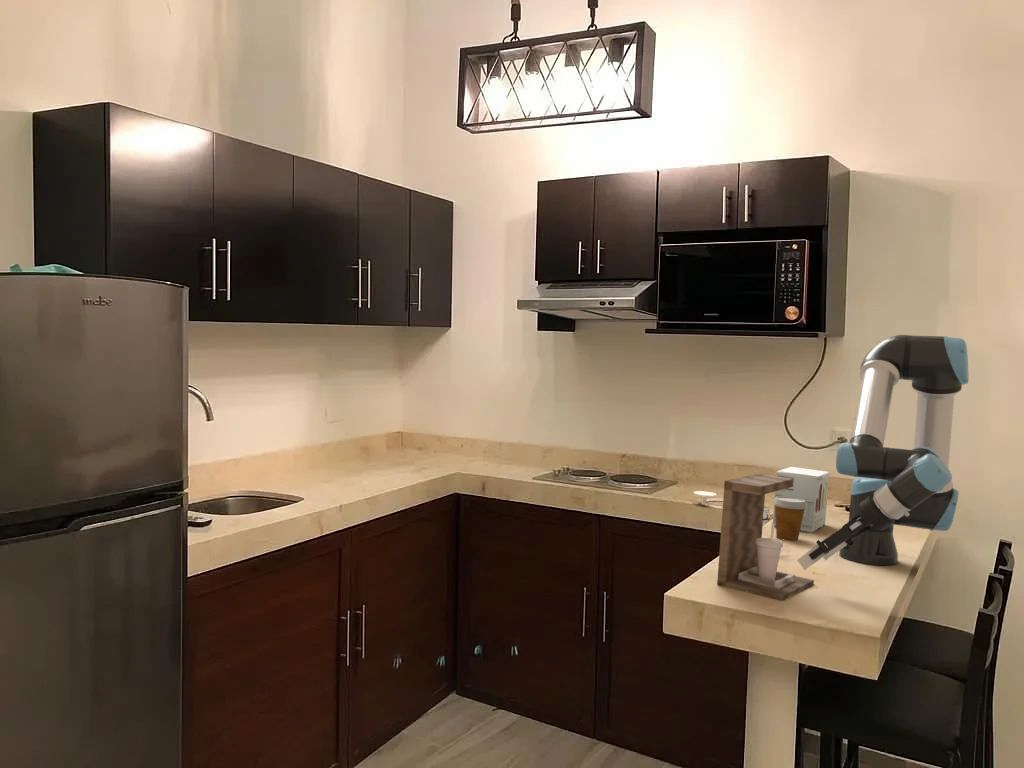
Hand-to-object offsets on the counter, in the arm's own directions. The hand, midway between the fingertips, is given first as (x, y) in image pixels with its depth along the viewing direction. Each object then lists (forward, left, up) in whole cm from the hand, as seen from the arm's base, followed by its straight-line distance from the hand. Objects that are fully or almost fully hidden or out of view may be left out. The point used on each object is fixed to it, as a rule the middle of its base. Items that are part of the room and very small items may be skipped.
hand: (811, 560), depth 203 cm
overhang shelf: (0, -11, -8) cm, 13 cm away
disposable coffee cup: (-55, -27, -8) cm, 62 cm away
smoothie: (0, -10, -7) cm, 13 cm away
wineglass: (-33, -27, -8) cm, 44 cm away
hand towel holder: (-88, -64, -9) cm, 110 cm away
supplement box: (-78, -32, -8) cm, 85 cm away
